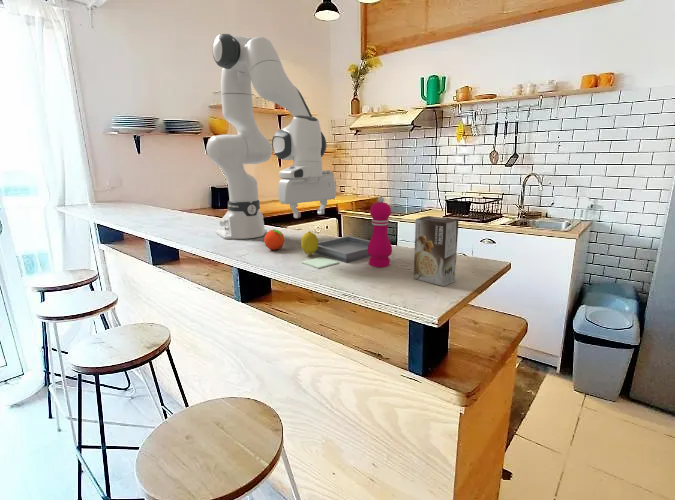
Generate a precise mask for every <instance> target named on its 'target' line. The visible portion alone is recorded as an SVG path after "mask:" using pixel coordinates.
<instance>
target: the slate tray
mask: <svg viewBox="0 0 675 500" xmlns="http://www.w3.org/2000/svg"><path fill="white" fill-rule="evenodd" d="M369 242H370V240H369V239H365V238H360V237H354V236H351V235H345V236H342V237H336V238H331V239H326V240H322V241H318V249H317V251H316V252H315V253H314V254H316V255H321V256H322V257H325V258H328V259H332V260H335V261H338V262H343V263H351V262H354V261H358V260H361V259H365V258H368V257H369V258H370V257H371V256H370V255H369V254H368V252H367V250H368V244H369Z"/></svg>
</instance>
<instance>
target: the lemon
mask: <svg viewBox="0 0 675 500" xmlns="http://www.w3.org/2000/svg"><path fill="white" fill-rule="evenodd" d="M318 242H319V239H318V236H317V235H316V234H315V233H313V232H312V231H310V230H309V231H308V232H306V233H303V235H302V237H301V240H300V246H301V250H302V252H303V253H304V254H307V255H308V256H312V255H313V254H316V253H315V252H316V251H317V249H318Z"/></svg>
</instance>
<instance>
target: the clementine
mask: <svg viewBox="0 0 675 500" xmlns="http://www.w3.org/2000/svg"><path fill="white" fill-rule="evenodd" d="M285 241H286V239H285V236H284V234H283V232H282V231H280V230H278V229H271V230H269V231H267V233H265V234H264V240H263V242H264V244H265V246H266V247H267V248H268V249H269V250H272V251H277V250H279V249H281V248H282V247H283V246H284V244H285Z"/></svg>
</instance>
